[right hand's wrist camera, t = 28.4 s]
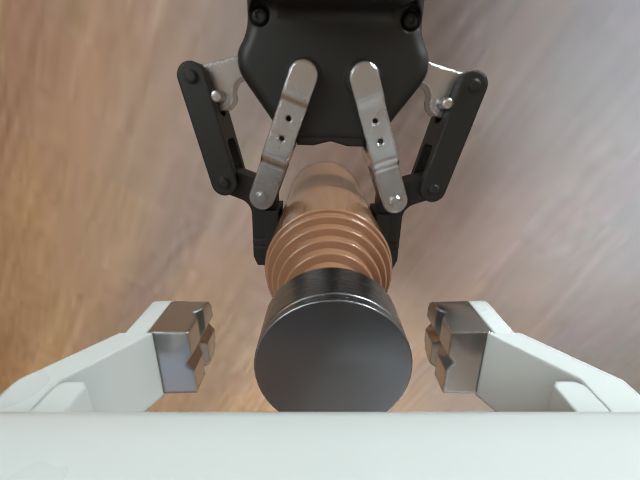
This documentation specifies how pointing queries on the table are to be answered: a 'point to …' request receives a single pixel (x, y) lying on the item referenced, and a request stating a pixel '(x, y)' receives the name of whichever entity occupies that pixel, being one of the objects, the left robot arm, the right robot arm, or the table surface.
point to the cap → (332, 345)
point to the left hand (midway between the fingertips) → (325, 269)
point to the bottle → (326, 230)
